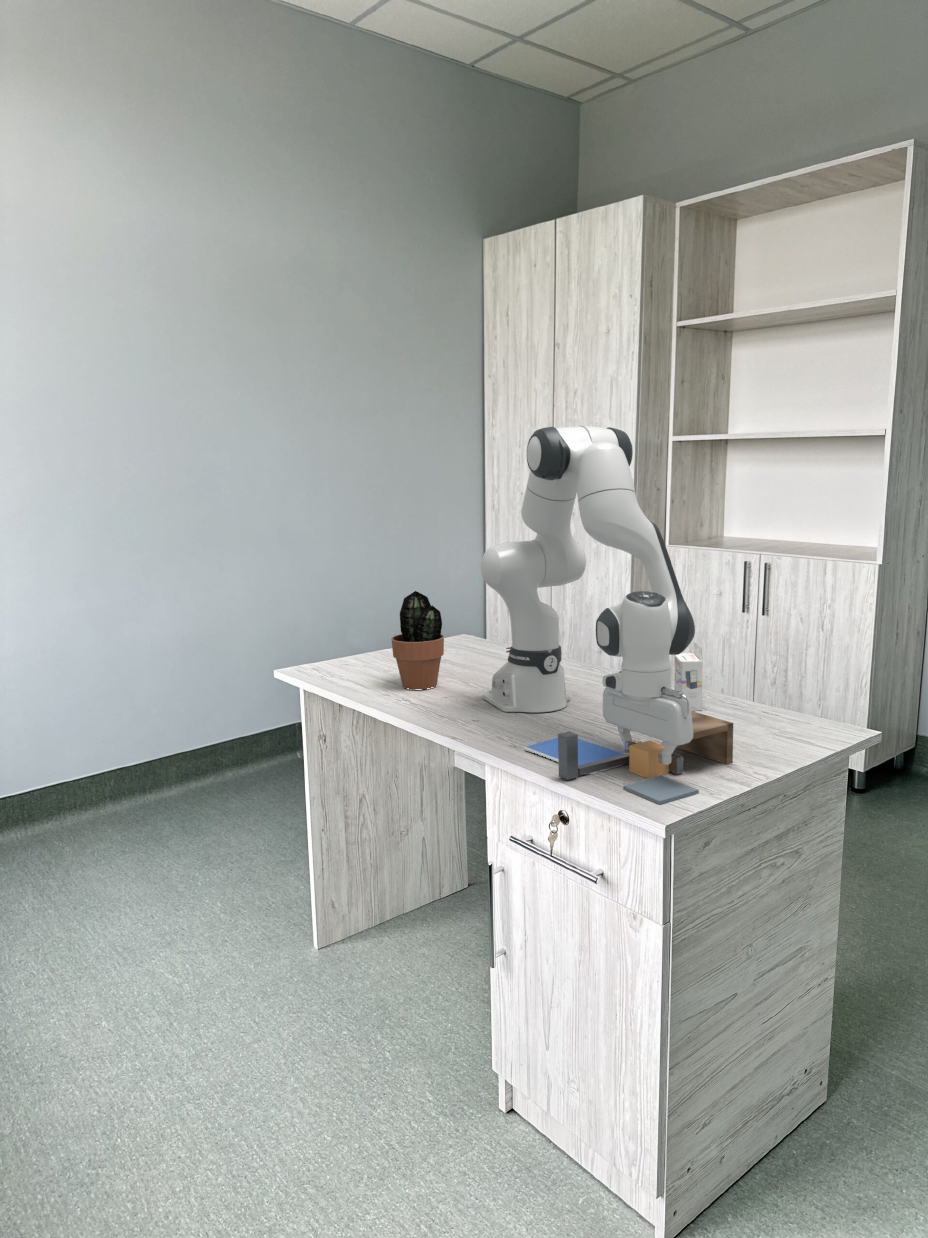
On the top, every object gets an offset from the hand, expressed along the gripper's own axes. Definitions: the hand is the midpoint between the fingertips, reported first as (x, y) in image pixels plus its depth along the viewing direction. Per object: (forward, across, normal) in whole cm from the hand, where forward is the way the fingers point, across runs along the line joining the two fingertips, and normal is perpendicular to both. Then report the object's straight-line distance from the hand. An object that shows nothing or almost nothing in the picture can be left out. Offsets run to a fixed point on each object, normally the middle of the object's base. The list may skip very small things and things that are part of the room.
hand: (646, 756), depth 164 cm
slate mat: (+3, -8, +4) cm, 10 cm away
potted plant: (+3, +84, +1) cm, 84 cm away
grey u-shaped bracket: (+3, +2, +5) cm, 6 cm away
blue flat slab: (+4, +16, +3) cm, 16 cm away
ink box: (+3, +28, -39) cm, 48 cm away
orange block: (+3, 0, -1) cm, 3 cm away
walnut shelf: (+3, +1, -11) cm, 12 cm away
